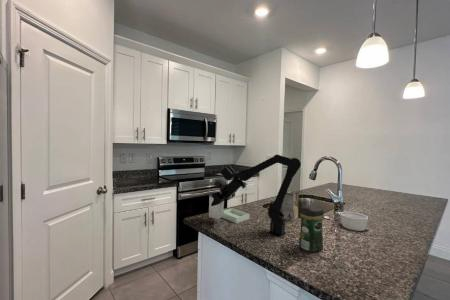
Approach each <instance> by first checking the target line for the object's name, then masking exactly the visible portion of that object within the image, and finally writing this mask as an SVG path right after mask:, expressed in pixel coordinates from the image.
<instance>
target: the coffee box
mask: <svg viewBox="0 0 450 300" xmlns="http://www.w3.org/2000/svg"><path fill="white" fill-rule="evenodd" d="M299 197H300V195H299V191H295V190H294V191H293V190H287V193H286V195H285V197H284V200H283V202H282V205H283V206H282V208H283V210H282V213H283V214H284V220H285V219H286V220H285V221H289V220H290V221H291V222H294V221H295V220H296V219H298V218H299Z"/></svg>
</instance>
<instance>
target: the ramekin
mask: <svg viewBox="0 0 450 300" xmlns="http://www.w3.org/2000/svg"><path fill="white" fill-rule="evenodd" d="M368 220H369V217H368V216H367V215H365V214H363V213H362V214H361V213H359V212H353V211H341V212H340V222H341V223H340V224H341V225H342V226H343V228H346V229H348V230H351V231H354V232H355V231H357V232H363V231H365V230H366V229H367V225H368Z"/></svg>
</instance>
